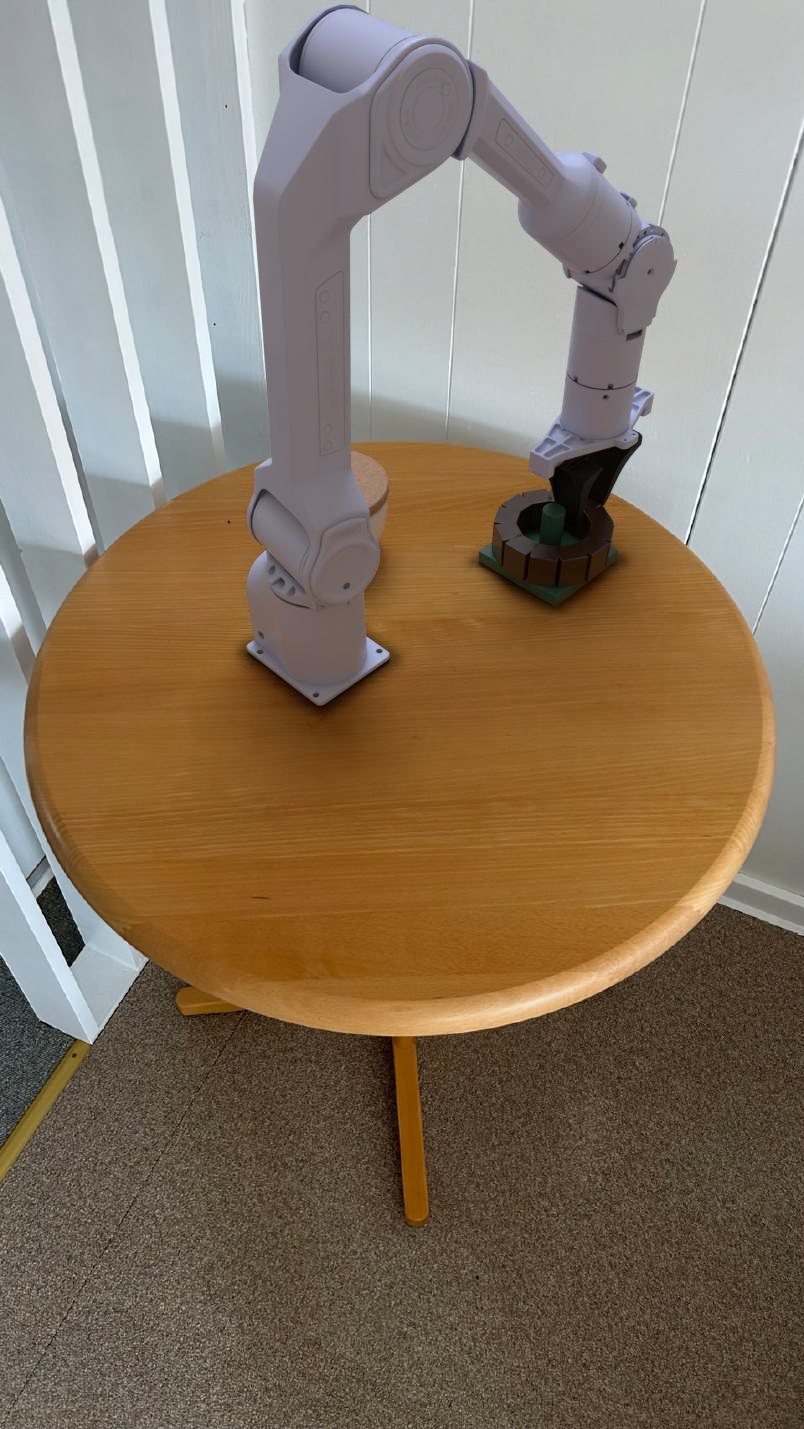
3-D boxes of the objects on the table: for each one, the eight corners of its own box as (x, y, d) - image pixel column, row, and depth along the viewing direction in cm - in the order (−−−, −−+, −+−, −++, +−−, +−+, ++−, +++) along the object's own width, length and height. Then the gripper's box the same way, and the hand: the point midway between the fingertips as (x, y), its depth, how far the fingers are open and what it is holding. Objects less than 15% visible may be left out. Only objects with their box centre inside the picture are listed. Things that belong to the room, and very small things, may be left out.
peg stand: (478, 561, 89) (481, 510, 85) (541, 519, 93) (547, 468, 89) (554, 607, 84) (562, 555, 80) (617, 560, 89) (627, 509, 84)
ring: (469, 550, 88) (470, 523, 86) (543, 502, 93) (546, 475, 91) (558, 603, 83) (562, 576, 81) (631, 550, 88) (637, 523, 86)
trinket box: (376, 597, 86) (373, 509, 79) (260, 582, 87) (247, 494, 80) (400, 524, 93) (399, 438, 86) (293, 512, 94) (283, 426, 87)
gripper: (585, 425, 73) (565, 567, 83) (695, 357, 80) (663, 495, 90) (514, 391, 76) (503, 531, 86) (625, 329, 83) (602, 465, 93)
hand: (580, 511), depth 88 cm, fingers open, 3 cm apart
